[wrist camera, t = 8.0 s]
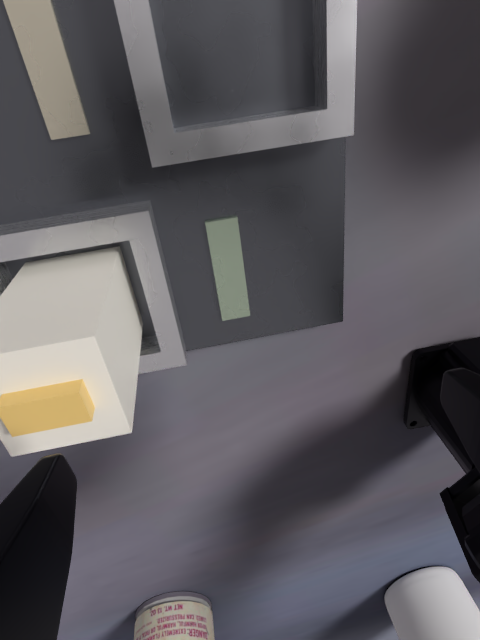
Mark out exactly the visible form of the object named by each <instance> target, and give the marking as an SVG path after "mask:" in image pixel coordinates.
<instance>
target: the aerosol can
mask: <svg viewBox="0 0 480 640" xmlns="http://www.w3.org/2000/svg"><path fill="white" fill-rule="evenodd" d="M135 620H136V622H135V631H134V640H214V628H213V615H212V603H211V602H210V600H209V599H208V598H207V597H205V596H204V595H202V594H199V593H194V592H184V591H178V592H171V593H165V594H162V595H158V596H155V597H153V598H151V599H149V600H147V601H145V602H144V603H143V604H142V605H141V606H140V607H138V610H137V612H136V615H135Z"/></svg>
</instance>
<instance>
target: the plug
mask: <svg viewBox="0 0 480 640" xmlns="http://www.w3.org/2000/svg"><path fill="white" fill-rule="evenodd" d="M142 330H143V322H142V318H141V315H140V312H139V308H138V305H137V302H136V298H135V295H134V292H133V288H132V285H131V282H130V279H129V275H128V272H127V269H126V265H125V262H124V259H123V255H122V252H121V249H120V246H118V247H112V248H106V249H100V250H95V251H89V252H83V253H77V254H71V255H66V256H60V257H54V258H48V259H42V260H37V261H31V262H25V264H24V265H23V266H22V268H21V269H20V270H19V272H18V273H17V274H16V276H15V277H14V278H13V280H12V281H11V282H10V284H9V285H8V286H7V288H6V289H5V290H4V292H3V293H2V295H1V296H0V440H1V441H2V443H3V444H4V446H5V447H6V449H7V451H8V452H9V454H10V455H11V457H14V456H19V455H24V454H29V453H34V452H39V451H44V450H49V449H54V448H59V447H64V446H69V445H74V444H79V443H84V442H89V441H94V440H99V439H104V438H109V437H114V436H119V435H124V434H129V433H132V428H133V418H134V408H135V398H136V388H137V379H138V369H139V359H140V349H141V340H142Z"/></svg>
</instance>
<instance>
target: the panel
mask: <svg viewBox="0 0 480 640" xmlns="http://www.w3.org/2000/svg"><path fill="white" fill-rule="evenodd" d="M356 26H357V0H0V296H1V295H2V293H3V292H4V290H5V289H6V288H7V286H8V285H9V284H10V282H11V281H12V280H13V278H14V277H15V276H16V274H17V273H18V272H19V270H20V269H21V268H22V266H23V265H24V264H25V262H31V261H37V260H42V259H48V258H54V257H60V256H66V255H71V254H77V253H83V252H89V251H95V250H100V249H106V248H112V247H118V246H120V249H121V252H122V255H123V259H124V262H125V265H126V269H127V272H128V275H129V279H130V282H131V285H132V288H133V292H134V295H135V298H136V302H137V305H138V308H139V312H140V315H141V318H142V322H143V330H142V340H141V349H140V359H139V369H138V374H142V373H147V372H152V371H158V370H163V369H168V368H173V367H179V366H184V365H187V360H186V351H188V350H193V349H199V348H204V347H209V346H215V345H220V344H225V343H231V342H236V341H241V340H246V339H252V338H257V337H262V336H268V335H273V334H278V333H284V332H289V331H294V330H300V329H305V328H310V327H315V326H321V325H326V324H331V323H337V322H342V321H343V275H344V205H345V137H346V136H352V135H354V108H355V67H356Z"/></svg>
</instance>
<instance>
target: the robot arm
mask: <svg viewBox="0 0 480 640" xmlns="http://www.w3.org/2000/svg"><path fill="white" fill-rule="evenodd" d="M422 356H423V357H422ZM421 357H422V358H421ZM404 424H405V425H406V427H407V428H409V429H414V428H419V427H424V426H429V425H431V427H432V428H433V429H434V431H435V432H436V433H437V435H438V436H439V437H440V439H441V440H442V442H443V443H444V444H445V446H446V447H447V448H448V450H449V451H450V452H451V454H452V455H453V457H454V458H455V459H456V461H457V462H458V463H459V465H460V466H461V467H462V469H463V470H464V472H465V473H466V475H464V476H463V477H462V478H461V479H460V480H458V481H457V482H456V483H455V484H453V485H452V486H451V487H450V488H448V487H447V488H446V489H444V490H443V491H442V492H441V493H440V496H441V498H442V501H443V503H444V506H445V509H446V512H447V514H448V516H449V519H450V521H451V524H452V526H453V528H454V531H455V533H456V536H457V538H458V541H459V543H460V545H461V548H462V550H463V553H464V555H465V557H466V560H467V562H468V565H469V567H470V569H471V572H472V574H473V575H474V577H475V578H476V579H477V580H478V581H479V583H480V337H479V338H474V339H469V340H463V341H458V342H453V343H448V344H443V345H438V346H433V347H428V348H422V349H419V350H417V351H415V352H414V353H413V355H412V360H411V368H410V375H409V383H408V391H407V398H406V406H405V414H404ZM76 492H77V481H76V477H75V474H74V473H73V471H72V469H71V467H70V466H69V464H68V462H67V460H66V459H65V457H64V456H63V455H62V454H54V455H49V456H45V457H42V458H41V459H40V460H39V461H38V462H37V463H36V464H35V466H34V467H33V468H32V469H31V470H30V471H29V472H28V473H27V475H26V476H25V477H24V478H23V479H22V480H21V481H20V483H19V484H18V485H17V486H16V487H15V488H14V489H13V490H12V492H11V493H10V494H9V495H8V496H7V497H6V498H5V499H4V501H3V502H2V503H1V504H0V640H57V635H58V629H59V624H60V618H61V612H62V607H63V601H64V596H65V590H66V585H67V579H68V573H69V568H70V562H71V555H72V547H73V535H74V520H75V506H76Z"/></svg>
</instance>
